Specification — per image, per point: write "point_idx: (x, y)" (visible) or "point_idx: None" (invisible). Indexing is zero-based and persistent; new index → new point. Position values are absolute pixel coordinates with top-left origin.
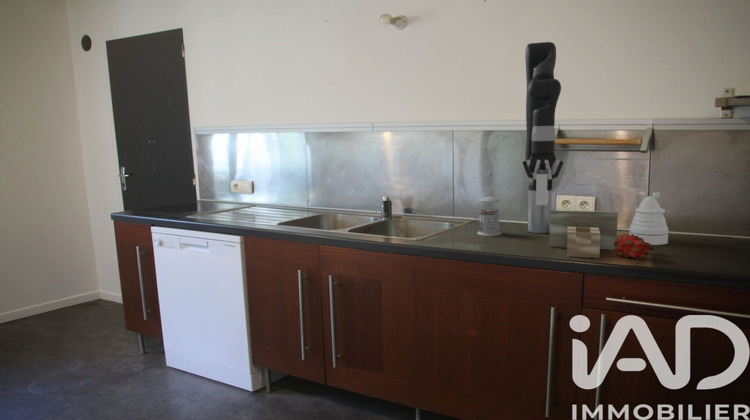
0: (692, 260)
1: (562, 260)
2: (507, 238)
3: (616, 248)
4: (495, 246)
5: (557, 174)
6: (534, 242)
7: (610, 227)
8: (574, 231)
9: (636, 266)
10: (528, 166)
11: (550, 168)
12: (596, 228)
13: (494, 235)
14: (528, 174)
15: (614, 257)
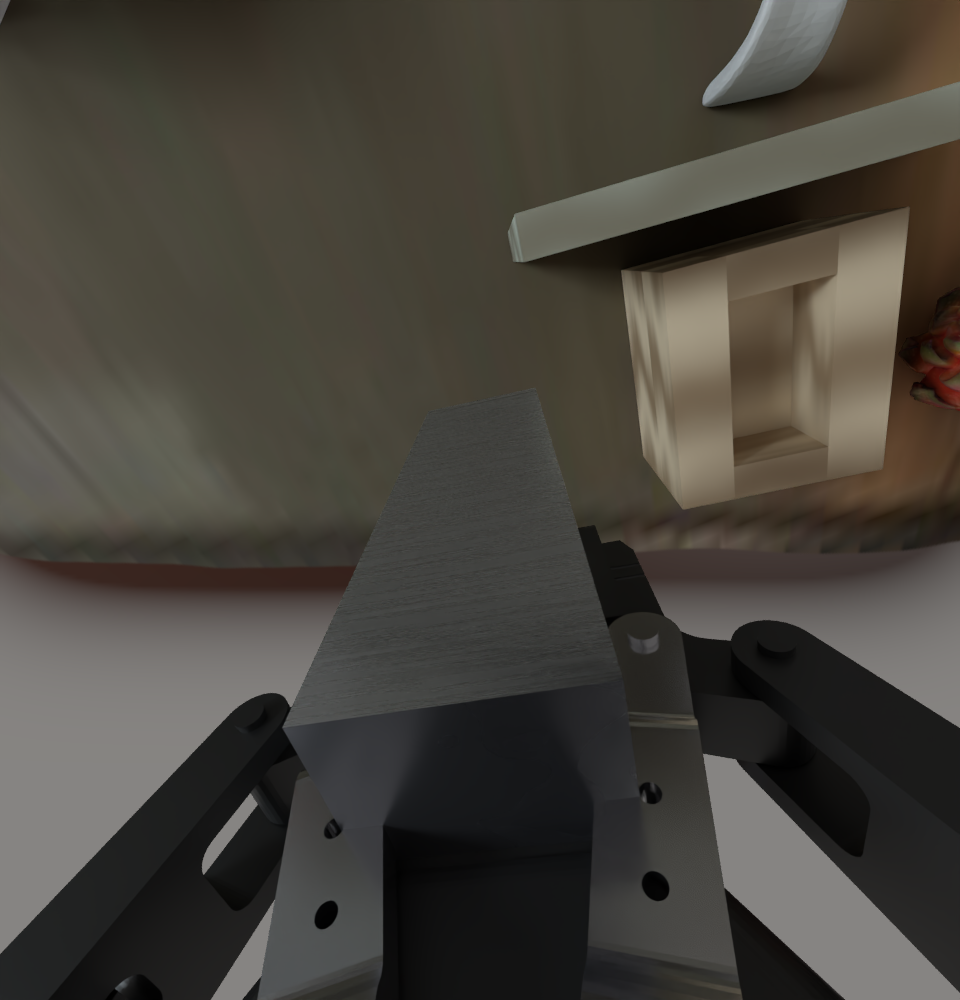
0: None
1: (635, 536)
2: (160, 88)
3: (919, 400)
4: (251, 393)
5: (821, 775)
6: (384, 152)
7: None
8: (723, 461)
9: (942, 510)
10: (105, 958)
11: (705, 821)
12: (884, 275)
13: (8, 2)
14: (280, 834)
15: None
